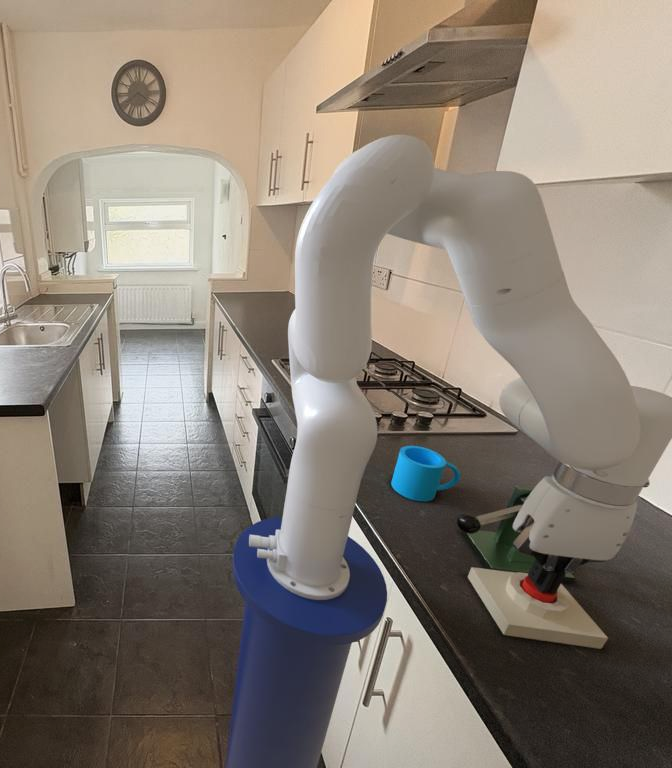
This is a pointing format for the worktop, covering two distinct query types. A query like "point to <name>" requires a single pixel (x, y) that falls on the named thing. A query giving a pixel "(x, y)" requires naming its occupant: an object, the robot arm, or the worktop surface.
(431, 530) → the worktop surface
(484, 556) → the bracket
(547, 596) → the button
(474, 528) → the lever
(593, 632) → the button block
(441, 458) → the mug
